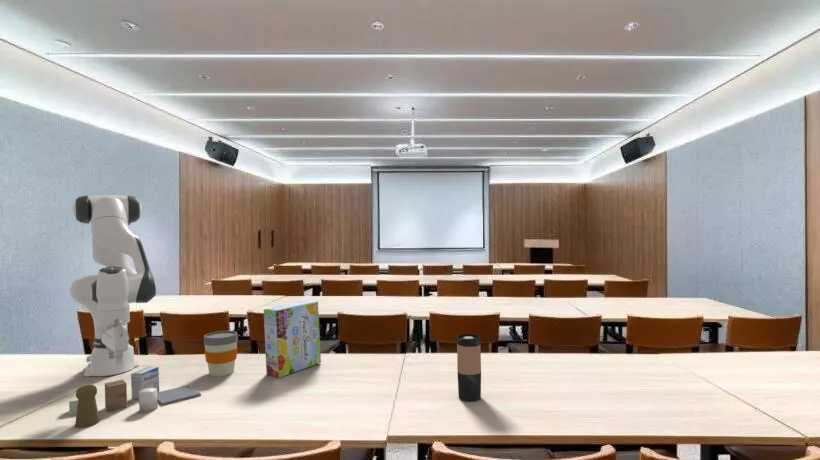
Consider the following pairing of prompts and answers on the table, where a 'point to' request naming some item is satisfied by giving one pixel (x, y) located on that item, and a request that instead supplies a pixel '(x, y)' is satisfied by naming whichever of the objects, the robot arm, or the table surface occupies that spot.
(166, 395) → the slate mat
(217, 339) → the reusable coffee cup
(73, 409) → the sage green block
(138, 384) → the medicine box
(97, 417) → the cork
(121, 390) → the walnut block
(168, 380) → the table surface
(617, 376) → the table surface
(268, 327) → the snack box
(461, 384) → the travel mug
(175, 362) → the table surface
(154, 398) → the white smooth pebble
